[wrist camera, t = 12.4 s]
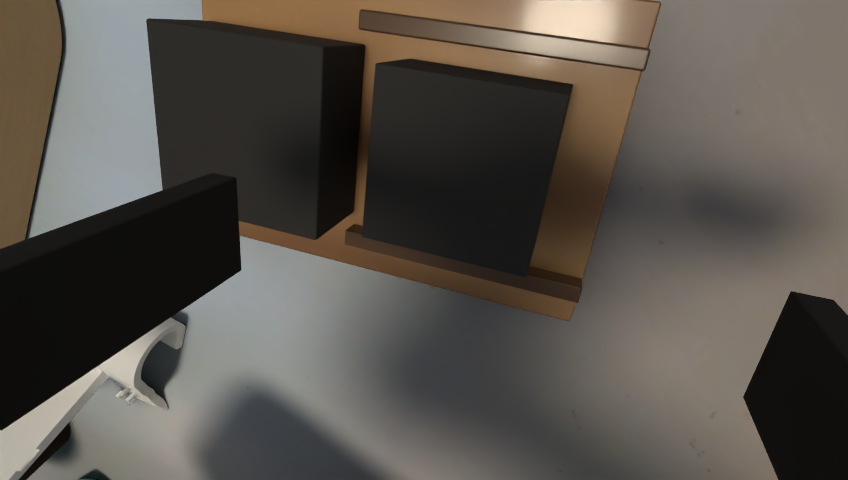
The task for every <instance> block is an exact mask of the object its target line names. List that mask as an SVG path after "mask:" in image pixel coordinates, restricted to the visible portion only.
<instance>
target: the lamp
mask: <svg viewBox="0 0 848 480" xmlns="http://www.w3.org/2000/svg"><path fill="white" fill-rule="evenodd" d="M61 51H62V34H61V24H60V18H59V13H58V8H57V4H56V1H55V0H0V249H1V248H4V247H7V246H10V245H12V244H15V243H18V242H21V241H24V240H25V236H26V231H27V226H28V221H29V216H30V211H31V206H32V201H33V196H34V191H35V186H36V181H37V176H38V171H39V166H40V162H41V157H42V152H43V147H44V142H45V137H46V132H47V127H48V122H49V116H50V111H51V106H52V101H53V96H54V91H55V86H56V81H57V76H58V70H59V65H60V59H61Z"/></svg>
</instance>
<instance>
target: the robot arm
mask: <svg viewBox="0 0 848 480" xmlns="http://www.w3.org/2000/svg"><path fill="white" fill-rule="evenodd" d="M239 271H241V256H240V236H239V217H238V197H237V178H235V177H230V176H225V175H220V174H216V173H210V174H207V175H204V176H201V177H199V178H196V179H193V180H190V181H187V182H185V183H182V184H179V185H176V186H174V187H171V188H168V189H165V190H162V191H160V192H157V193H154V194H151V195H149V196H146V197H143V198H140V199H137V200H135V201H132V202H129V203H126V204H124V205H121V206H118V207H115V208H112V209H110V210H107V211H104V212H101V213H99V214H96V215H93V216H90V217H87V218H85V219H82V220H79V221H76V222H74V223H71V224H68V225H65V226H62V227H60V228H57V229H54V230H51V231H49V232H46V233H43V234H40V235H37V236H35V237H32V238H29V239H26V240H24V241H21V242H18V243H15V244H12V245H10V246H7V247H4V248H1V249H0V430H1V431H2V430H3V429H5V428H6V427H8V426H9V425H11V424H12V423H14V422H15V421H17V420H18V419H20V418H21V417H23V416H24V415H26V414H27V413H29V412H30V411H32V410H33V409H35V408H36V407H38V406H39V405H41V404H42V403H44V402H45V401H47V400H48V399H50V398H51V397H53V396H54V395H56V394H57V393H59V392H60V391H62V390H63V389H65V388H66V387H68V386H69V385H71V384H72V383H73V382H75V381H76V380H78V379H79V378H81V377H82V376H84V375H85V374H87V373H88V372H90V371H91V370H93V369H94V368H96V367H97V366H99V365H100V364H102V363H103V362H105V361H106V360H108V359H109V358H111V357H112V356H114V355H115V354H117V353H118V352H120V351H121V350H123V349H124V348H126V347H127V346H129V345H130V344H132V343H133V342H135V341H136V340H138V339H139V338H141V337H142V336H144V335H145V334H147V333H148V332H150V331H151V330H153V329H154V328H156V327H157V326H159V325H160V324H162V323H163V322H165V321H166V320H168V319H169V318H170V317H172V316H173V315H175V314H176V313H178V312H179V311H181V310H182V309H184V308H185V307H187V306H188V305H190V304H191V303H193V302H194V301H196V300H197V299H199V298H200V297H202V296H203V295H205V294H206V293H208V292H209V291H211V290H212V289H214V288H215V287H217V286H218V285H220V284H221V283H223V282H224V281H226V280H227V279H229V278H230V277H232V276H233V275H235V274H236V273H238V272H239ZM743 398H744V400H745V402H746V405H747V407H748V409H749V412H750V414H751V416H752V419H753V421H754V423H755V426H756V428H757V430H758V433H759V435H760V437H761V440H762V442H763V444H764V447H765V449H766V452H767V454H768V456H769V459H770V461H771V463H772V466H773V468H774V470H775V473H776V475H777V477H778V480H848V315H847V314H846V313H845V312H844V311H843V310H842V309H841V308H840V307H839V306H838V304H837V303H836V302H835V301H834V300H831V299H826V298H821V297H816V296H811V295H806V294H802V293H797V292H792V291H791V292H790V294H789V297H788V299H787V301H786V303H785V305H784V308H783V310H782V312H781V314H780V317H779V319H778V321H777V323H776V325H775V328H774V330H773V332H772V334H771V337H770V339H769V341H768V343H767V345H766V348H765V350H764V352H763V354H762V356H761V359H760V361H759V363H758V365H757V368H756V370H755V372H754V374H753V376H752V379H751V381H750V383H749V385H748V388H747V390H746V392H745V394H744V396H743Z"/></svg>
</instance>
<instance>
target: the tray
mask: <svg viewBox="0 0 848 480" xmlns="http://www.w3.org/2000/svg"><path fill="white" fill-rule="evenodd" d="M660 6H661V2H658V1H650V0H202V13H203V21H216V22H222V23H229V24H235V25H242V26H248V27H255V28H261V29H268V30H274V31H281V32H287V33H294V34H300V35H307V36H313V37H320V38H326V39H333V40H339V41H346V42H352V43H359V44H364V45H365V55H364V69H363V84H362V98H361V113H360V127H359V142H358V156H357V171H356V185H355V199H354V212H353V213H352V214H350V215H349V216H348V217H346V218H345V219H344V220H342V221H341V222H340V223H338V224H337V225H336V226H334V227H333V228H332V229H330V230H329V231H328V232H326V233H325V234H324V235H322V236H321V237H320V238H318V239H317V240H312V239H308V238H304V237H301V236H297V235H293V234H289V233H285V232H281V231H277V230H273V229H269V228H265V227H261V226H257V225H253V224H249V223H245V222H241V221H239V235H240V236H244V237H248V238H252V239H255V240H259V241H263V242H267V243H271V244H275V245H278V246H282V247H286V248H290V249H294V250H298V251H301V252H305V253H309V254H313V255H317V256H321V257H324V258H328V259H332V260H336V261H340V262H344V263H348V264H351V265H355V266H359V267H363V268H367V269H371V270H374V271H378V272H382V273H386V274H390V275H394V276H397V277H401V278H405V279H409V280H413V281H417V282H420V283H424V284H428V285H432V286H436V287H440V288H443V289H447V290H451V291H455V292H459V293H463V294H467V295H470V296H474V297H478V298H482V299H486V300H490V301H493V302H497V303H501V304H505V305H509V306H513V307H516V308H520V309H524V310H528V311H532V312H536V313H539V314H543V315H547V316H551V317H555V318H559V319H563V320H566V321H570V320H571V317H572V313H573V310H574V306H575V303H578V301H579V297H580V294H581V290H582V278H583V275H584V271H585V268H586V264H587V261H588V257H589V254H590V250H591V247H592V243H593V240H594V236H595V233H596V229H597V226H598V222H599V219H600V215H601V212H602V209H603V205H604V202H605V198H606V195H607V191H608V188H609V184H610V181H611V177H612V174H613V170H614V167H615V163H616V160H617V156H618V153H619V149H620V146H621V142H622V139H623V135H624V132H625V128H626V125H627V121H628V118H629V114H630V111H631V107H632V104H633V100H634V97H635V93H636V90H637V86H638V83H639V79H640V76H641V72H642V71H644V70H645V69H646V65H647V62H648V58H649V55H650V49H649V45H650V41H651V38H652V34H653V31H654V27H655V24H656V20H657V17H658V13H659V10H660ZM403 59H417V60H423V61H430V62H436V63H442V64H449V65H455V66H461V67H468V68H474V69H480V70H486V71H493V72H499V73H505V74H512V75H518V76H524V77H531V78H537V79H543V80H550V81H556V82H562V83H568V84H573V88H572V92H571V96H570V101H569V105H568V109H567V113H566V118H565V122H564V126H563V130H562V134H561V139H560V143H559V147H558V151H557V155H556V160H555V164H554V168H553V172H552V177H551V181H550V185H549V189H548V193H547V198H546V202H545V206H544V210H543V215H542V219H541V223H540V227H539V231H538V236H537V240H536V244H535V247H534V251H533V255H532V259H531V262H530V266H529V270H528V274H527V277H522V276H518V275H514V274H510V273H506V272H502V271H498V270H494V269H490V268H486V267H481V266H477V265H473V264H469V263H465V262H461V261H457V260H453V259H449V258H445V257H441V256H437V255H433V254H429V253H425V252H421V251H417V250H413V249H409V248H405V247H401V246H397V245H393V244H389V243H384V242H380V241H376V240H372V239H368V238H364V237H362V226H363V214H364V201H365V189H366V176H367V163H368V151H369V138H370V126H371V113H372V100H373V88H374V75H375V64H376V63H381V62H388V61H396V60H403Z"/></svg>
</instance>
